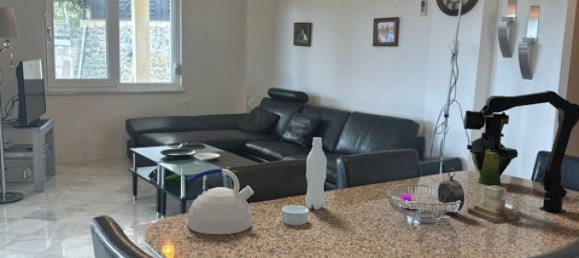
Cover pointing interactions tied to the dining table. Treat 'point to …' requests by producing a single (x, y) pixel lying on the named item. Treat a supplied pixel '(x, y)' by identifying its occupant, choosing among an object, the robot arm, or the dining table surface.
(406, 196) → the crystal
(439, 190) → the alarm clock
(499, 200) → the block
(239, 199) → the kettle
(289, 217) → the ramekin
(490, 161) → the vase
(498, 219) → the plinth
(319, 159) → the water bottle
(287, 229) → the dining table surface
